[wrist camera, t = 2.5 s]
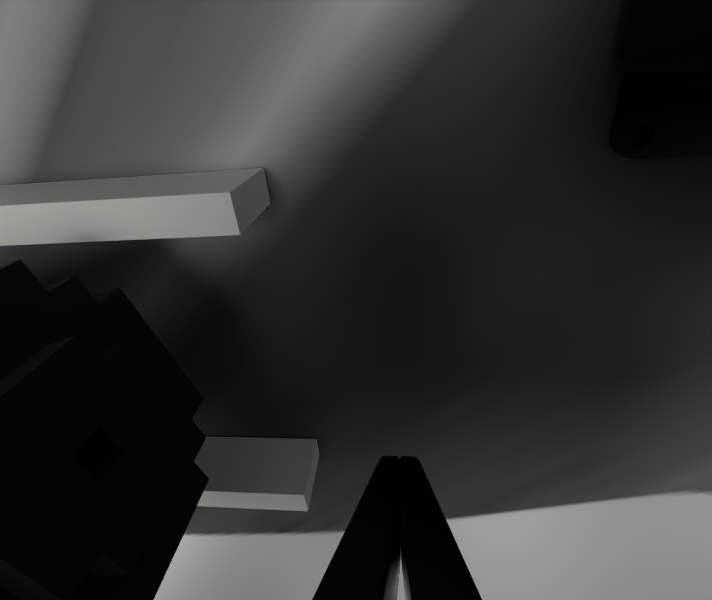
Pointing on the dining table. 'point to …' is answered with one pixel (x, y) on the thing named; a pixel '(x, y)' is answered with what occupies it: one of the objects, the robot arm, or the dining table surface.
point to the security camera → (89, 445)
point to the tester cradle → (159, 221)
